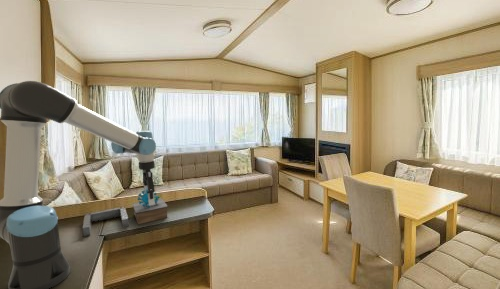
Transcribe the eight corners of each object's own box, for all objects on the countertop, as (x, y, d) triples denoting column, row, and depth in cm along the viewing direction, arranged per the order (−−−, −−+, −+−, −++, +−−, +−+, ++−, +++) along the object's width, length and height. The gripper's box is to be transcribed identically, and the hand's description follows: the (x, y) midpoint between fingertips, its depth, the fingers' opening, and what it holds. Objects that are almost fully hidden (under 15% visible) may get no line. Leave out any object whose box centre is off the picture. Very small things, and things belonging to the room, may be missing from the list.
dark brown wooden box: (168, 217, 125) (167, 206, 124) (136, 224, 117) (135, 213, 117) (162, 208, 138) (161, 198, 137) (133, 214, 130) (132, 203, 129)
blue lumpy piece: (138, 206, 120) (137, 189, 126) (136, 212, 124) (136, 194, 130) (161, 205, 126) (159, 188, 131) (159, 210, 130) (157, 193, 135)
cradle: (128, 226, 116) (128, 218, 116) (83, 236, 107) (82, 228, 106) (125, 213, 131) (124, 206, 131) (85, 221, 122) (84, 214, 121)
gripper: (159, 164, 115) (162, 206, 118) (150, 156, 136) (152, 193, 139) (142, 166, 111) (145, 210, 114) (135, 158, 133) (138, 195, 135)
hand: (149, 200), depth 127 cm, fingers open, 13 cm apart
